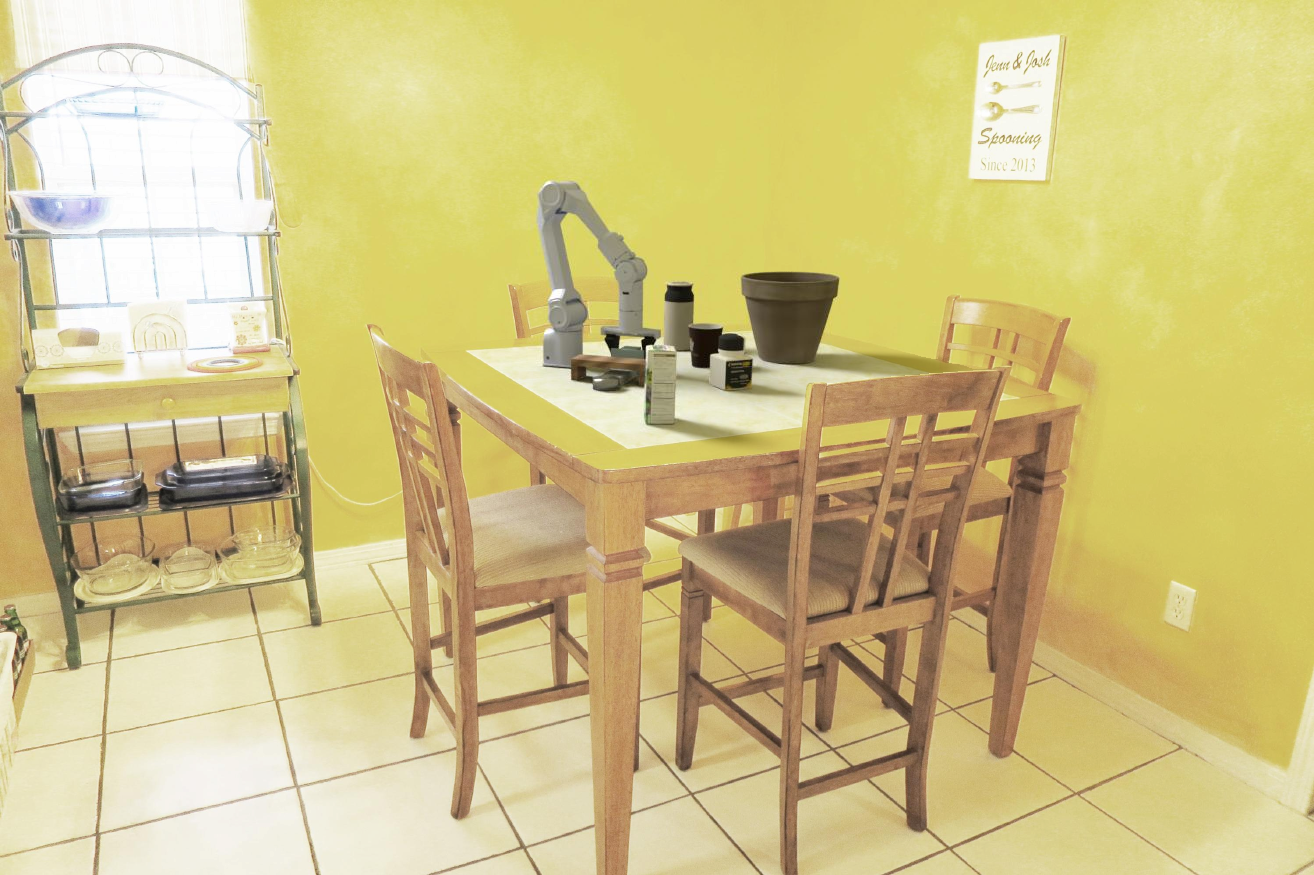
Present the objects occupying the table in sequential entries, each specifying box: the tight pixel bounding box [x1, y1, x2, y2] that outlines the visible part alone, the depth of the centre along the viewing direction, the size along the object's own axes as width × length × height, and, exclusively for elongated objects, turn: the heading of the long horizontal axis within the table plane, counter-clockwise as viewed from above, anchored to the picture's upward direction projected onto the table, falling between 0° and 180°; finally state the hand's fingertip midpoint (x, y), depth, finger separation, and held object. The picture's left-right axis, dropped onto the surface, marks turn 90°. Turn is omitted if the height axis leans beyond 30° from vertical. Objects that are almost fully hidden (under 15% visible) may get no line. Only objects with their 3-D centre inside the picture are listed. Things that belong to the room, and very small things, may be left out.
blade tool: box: [599, 345, 644, 387], centre depth 213 cm, size 8×17×6 cm, turn 164°
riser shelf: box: [570, 353, 646, 387], centre depth 210 cm, size 18×6×5 cm, turn 74°
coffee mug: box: [689, 322, 724, 369], centre depth 230 cm, size 12×9×10 cm
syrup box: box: [643, 344, 678, 425], centre depth 176 cm, size 6×6×14 cm
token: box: [592, 374, 621, 393], centre depth 203 cm, size 6×6×2 cm
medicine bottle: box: [708, 332, 754, 392], centre depth 206 cm, size 7×7×12 cm
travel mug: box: [663, 280, 695, 352], centre depth 248 cm, size 8×8×18 cm
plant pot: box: [740, 271, 840, 365], centre depth 237 cm, size 25×25×22 cm
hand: (630, 366), depth 220 cm, fingers closed on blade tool, 7 cm apart
